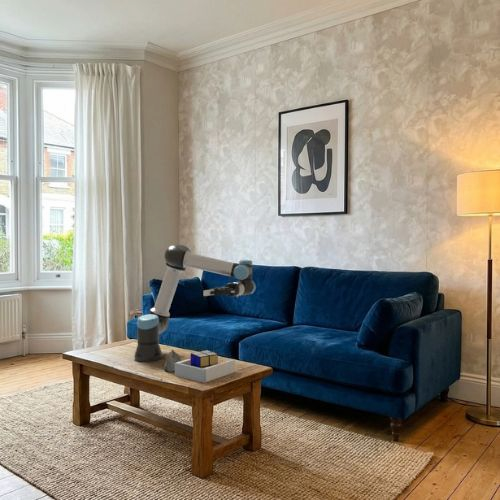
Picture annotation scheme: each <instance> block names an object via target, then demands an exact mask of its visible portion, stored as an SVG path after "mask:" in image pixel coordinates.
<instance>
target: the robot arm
mask: <svg viewBox="0 0 500 500" xmlns="http://www.w3.org/2000/svg"><path fill="white" fill-rule="evenodd" d="M163 257H164V260H165V267H166V270H165V273H164V277H163V279H162V282H161V285H160V288H159V291H158V295H157V297H156V300H155V304H154V306H153V307H152V308H150V310H149V313H148V314H147V313H146V314H142V315H140V316H139V317H138V318H137V322H136V331H137V336H136V337H137V345H136V349H135V352H134V355H133V357H134V358H133V359H134V360H135V361H136V362H142V363H143V362H144V363H148V362H157V361H159V360H161V359H163V351H162V349H161V346H160V335H161V334H162V333H164V332H165V331H166V330H168V328H169V324H170V316H171V314H170V312H169V310H170V309H171V306H172V305H171V304H172V302H173V300H174V299H173V298H174V296H175V293H176V291H177V287H178V284H179V280H180V278H181V275H182V273H183V272H185V271H186V269H187V268H191V269H196V270H201V271H206V272H210V273H214V274H219V275H222V276H228V277H230V278H235V279H237V280H238V281H236V282H229V283H227V284H226V285H225V286H221V287H218V286H216V287H214V288H209V289H205V290H203V297H208V296H216V295H218V296H223V295H224V296H225V295H226V296H227V297H229V298H232V297H236V298H239V296H246V295H247V296H248V295H252V294H254V292H255V291H256V289H257V286H256V283H255V282H254V281H253V266H254V265H253V261H252V260H250V259H240V260H239V262H238V263H235V262H232V261H226V260H222V259H217V258H213V257H209V256H205V255H200V254H196V253H192V251H191V249H190V247H188V246H187V245H184V244H177V245H176V244H174V245H173V244H172V245H170V246H169V247H168V248H166V249H165V251H164V256H163Z"/></svg>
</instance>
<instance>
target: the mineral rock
mask: <svg viewBox="0 0 500 500" xmlns="http://www.w3.org/2000/svg"><path fill="white" fill-rule="evenodd" d="M180 361H181V355H180V354H178V353H177V352H176V351H175V350H174V349H171V350H170V351H169V352H168V353H167V354H166V355H165V362H164V372H168V373H171V372H175V363H177V362H180Z"/></svg>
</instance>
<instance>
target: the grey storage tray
mask: <svg viewBox="0 0 500 500" xmlns="http://www.w3.org/2000/svg"><path fill="white" fill-rule="evenodd" d="M235 372H236V359H229V360H227V361H224V362H223V361H222V362H218V364H216V365H213V366H210V367H207V368H203V369H202V368H198V367H194V366H191V358H187V359H184V360H180V362H177V363H175V371H174V376H176V377H180V378H184V379H188V380H190V381H191V380H192V381H196V382H199V383H207V382H211V381H213V380H217V379H219V378H222V377H224V376H228V375H231V374H233V373H235Z"/></svg>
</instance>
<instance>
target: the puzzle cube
mask: <svg viewBox="0 0 500 500" xmlns="http://www.w3.org/2000/svg"><path fill="white" fill-rule="evenodd" d="M218 357H219V355H218V353H215V352H213V351H210V350H208V349H207V350H202V351H195V352H190V359H191V366H194V367H198V368H202V369H203V368H207V367H210V366H213V365H216V364H219V362H218V361H219V358H218Z"/></svg>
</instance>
